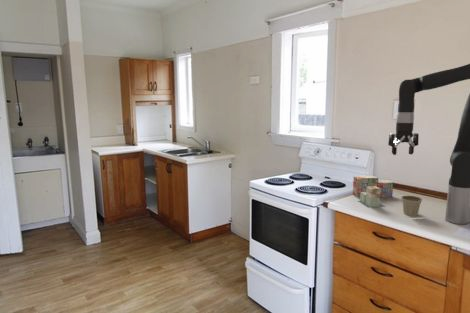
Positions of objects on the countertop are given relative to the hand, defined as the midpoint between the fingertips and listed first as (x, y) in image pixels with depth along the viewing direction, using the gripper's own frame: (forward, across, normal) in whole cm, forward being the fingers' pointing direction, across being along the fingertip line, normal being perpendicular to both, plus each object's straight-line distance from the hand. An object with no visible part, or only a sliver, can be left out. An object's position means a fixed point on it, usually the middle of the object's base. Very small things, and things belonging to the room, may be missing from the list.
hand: (402, 154), depth 166 cm
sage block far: (+30, -8, +18) cm, 35 cm away
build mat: (+30, -7, +14) cm, 34 cm away
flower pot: (+30, +4, -4) cm, 31 cm away
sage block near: (+30, -8, +11) cm, 32 cm away
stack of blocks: (+30, +2, +29) cm, 42 cm away
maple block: (+24, -8, +11) cm, 28 cm away
